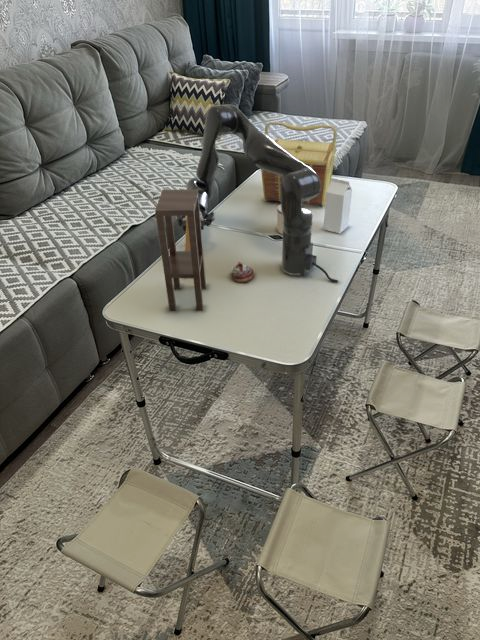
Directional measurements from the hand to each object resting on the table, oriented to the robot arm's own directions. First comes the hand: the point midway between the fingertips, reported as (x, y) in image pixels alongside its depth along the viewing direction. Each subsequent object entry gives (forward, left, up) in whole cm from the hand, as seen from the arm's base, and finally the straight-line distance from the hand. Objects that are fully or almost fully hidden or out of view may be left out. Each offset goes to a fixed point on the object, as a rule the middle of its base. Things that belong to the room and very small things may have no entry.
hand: (192, 228), depth 172 cm
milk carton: (-34, -45, -11) cm, 57 cm away
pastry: (-21, +3, -11) cm, 24 cm away
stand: (-13, +22, -11) cm, 28 cm away
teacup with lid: (-19, -36, -11) cm, 42 cm away
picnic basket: (-8, -65, -11) cm, 66 cm away
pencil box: (-1, +3, -5) cm, 6 cm away
